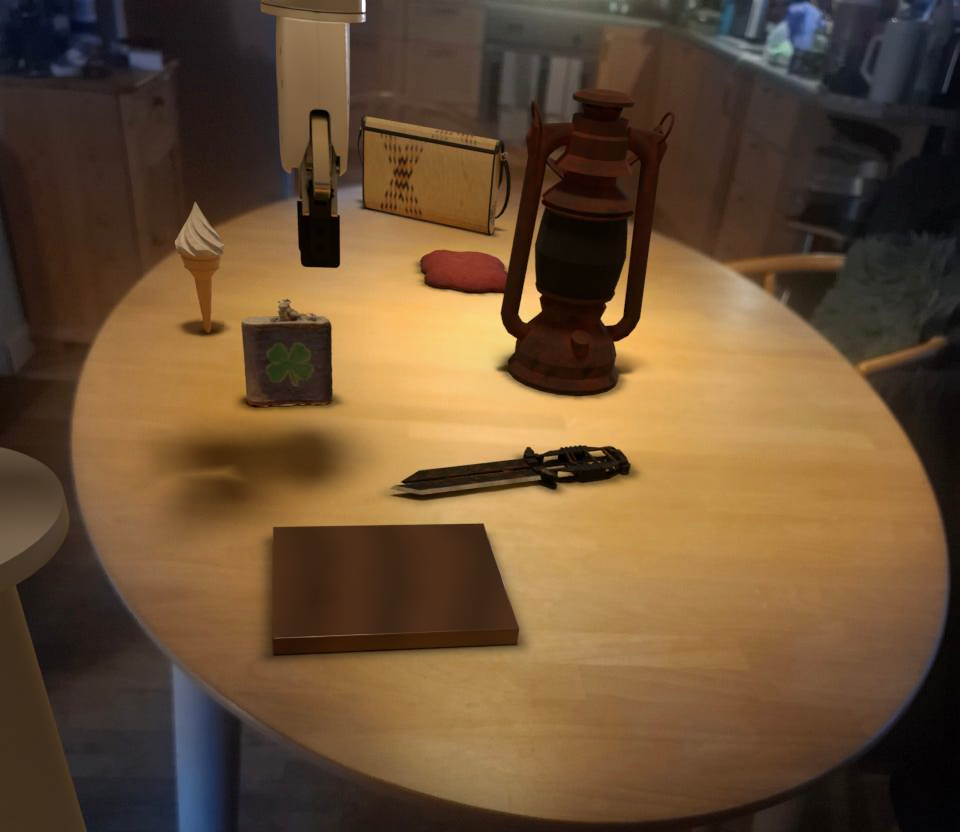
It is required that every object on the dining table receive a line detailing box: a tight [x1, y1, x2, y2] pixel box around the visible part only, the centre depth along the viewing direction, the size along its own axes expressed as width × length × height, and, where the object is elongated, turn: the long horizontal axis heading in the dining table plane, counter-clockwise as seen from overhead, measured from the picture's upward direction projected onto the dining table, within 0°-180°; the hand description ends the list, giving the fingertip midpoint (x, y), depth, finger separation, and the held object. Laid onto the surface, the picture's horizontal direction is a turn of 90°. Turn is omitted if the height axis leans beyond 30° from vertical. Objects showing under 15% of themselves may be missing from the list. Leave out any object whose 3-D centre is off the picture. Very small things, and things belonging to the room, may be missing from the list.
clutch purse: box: [357, 115, 512, 236], centre depth 158 cm, size 30×7×15 cm, turn 66°
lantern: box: [500, 87, 676, 397], centre depth 101 cm, size 17×14×30 cm
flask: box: [240, 298, 334, 408], centre depth 94 cm, size 9×3×11 cm, turn 106°
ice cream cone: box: [174, 201, 225, 334], centre depth 106 cm, size 6×6×15 cm
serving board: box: [272, 522, 520, 655], centre depth 71 cm, size 18×15×2 cm
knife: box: [389, 444, 631, 496], centre depth 88 cm, size 25×6×1 cm, turn 108°
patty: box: [419, 249, 508, 293], centre depth 137 cm, size 18×14×2 cm
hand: (319, 257), depth 75 cm, fingers open, 3 cm apart
